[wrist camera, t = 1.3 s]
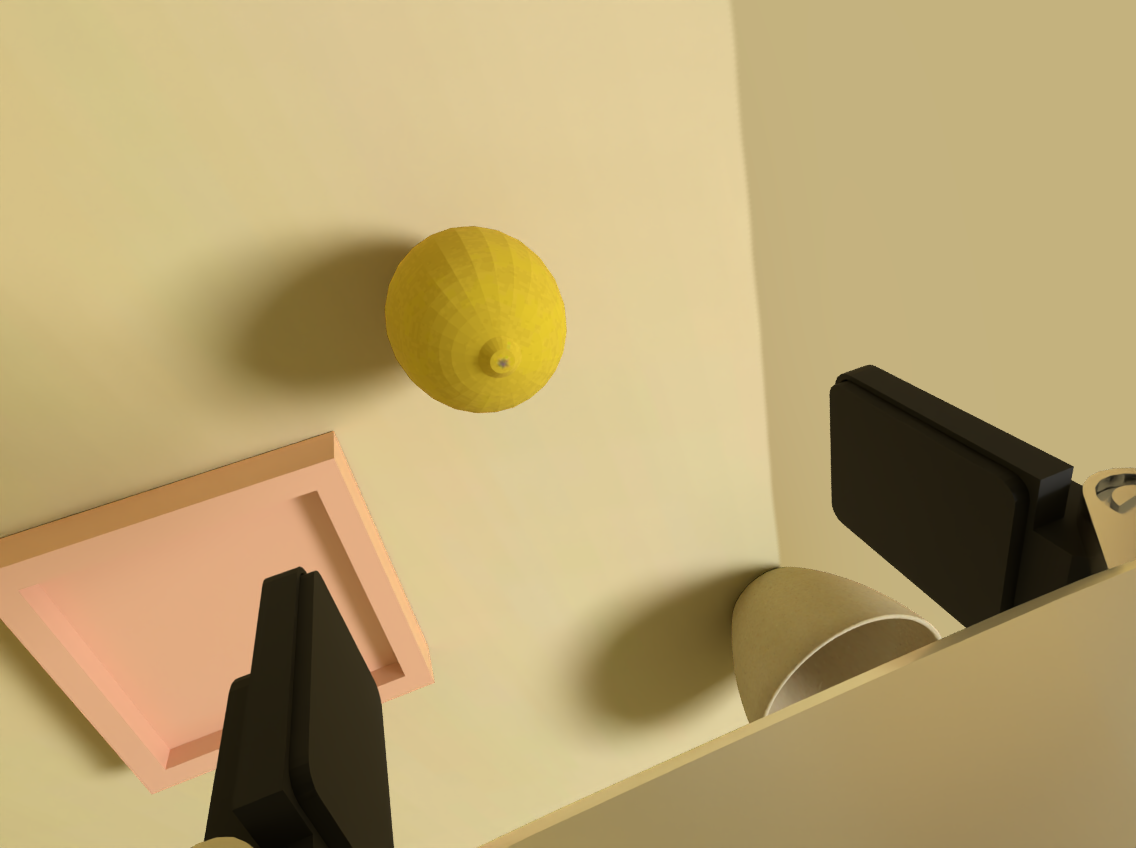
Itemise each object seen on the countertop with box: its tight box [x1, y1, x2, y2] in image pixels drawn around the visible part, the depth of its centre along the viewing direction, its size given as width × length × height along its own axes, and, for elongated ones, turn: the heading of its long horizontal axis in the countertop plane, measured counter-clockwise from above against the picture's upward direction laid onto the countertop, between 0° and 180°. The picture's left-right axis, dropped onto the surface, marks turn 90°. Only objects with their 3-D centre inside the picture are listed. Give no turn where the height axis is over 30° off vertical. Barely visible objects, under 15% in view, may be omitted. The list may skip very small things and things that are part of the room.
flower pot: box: [732, 567, 942, 723], centre depth 35 cm, size 10×10×7 cm
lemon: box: [385, 226, 566, 413], centre depth 22 cm, size 6×6×8 cm
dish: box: [0, 431, 435, 794], centre depth 27 cm, size 12×12×2 cm
